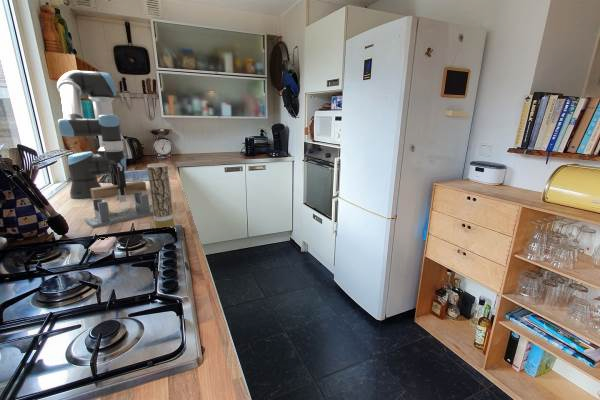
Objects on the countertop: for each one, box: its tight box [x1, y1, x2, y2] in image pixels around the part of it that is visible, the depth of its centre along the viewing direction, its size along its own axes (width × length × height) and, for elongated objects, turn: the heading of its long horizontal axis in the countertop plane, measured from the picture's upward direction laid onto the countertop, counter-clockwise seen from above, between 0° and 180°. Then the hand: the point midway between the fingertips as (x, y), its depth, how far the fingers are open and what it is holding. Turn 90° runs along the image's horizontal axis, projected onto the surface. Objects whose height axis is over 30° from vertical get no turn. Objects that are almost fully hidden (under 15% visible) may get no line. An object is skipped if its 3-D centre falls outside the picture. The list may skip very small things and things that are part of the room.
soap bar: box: [88, 236, 117, 252], centre depth 101 cm, size 5×9×2 cm, turn 13°
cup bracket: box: [84, 191, 154, 229], centre depth 131 cm, size 10×26×9 cm, turn 137°
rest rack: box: [102, 197, 135, 212], centre depth 143 cm, size 6×19×5 cm, turn 137°
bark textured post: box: [146, 162, 175, 229], centre depth 116 cm, size 7×7×25 cm
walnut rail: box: [90, 180, 147, 200], centre depth 142 cm, size 4×22×4 cm, turn 138°
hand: (121, 200), depth 143 cm, fingers closed on walnut rail, 4 cm apart
